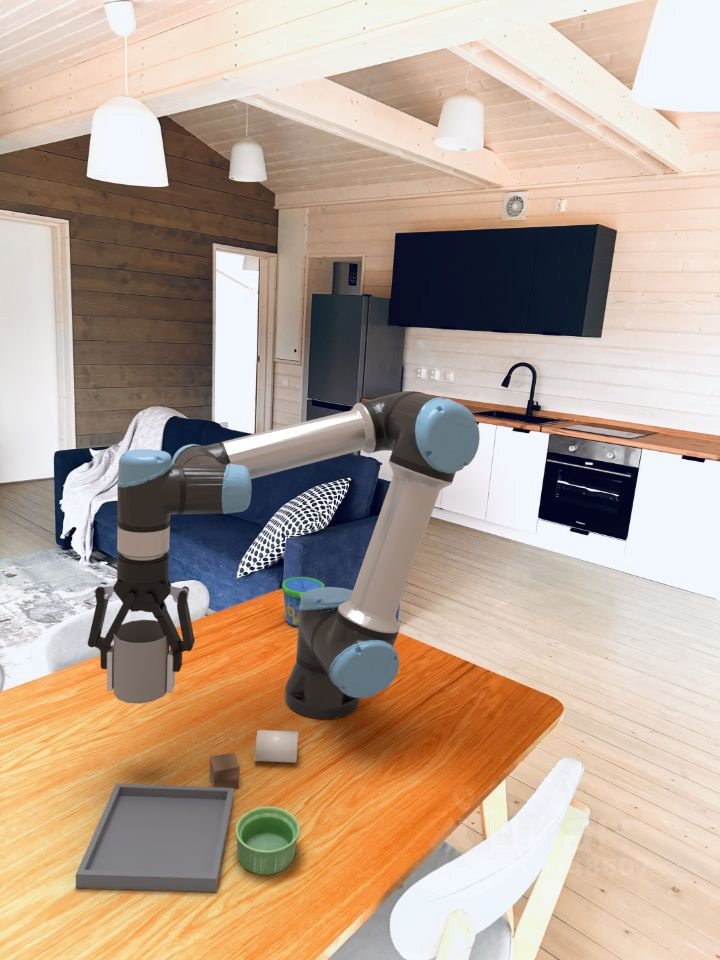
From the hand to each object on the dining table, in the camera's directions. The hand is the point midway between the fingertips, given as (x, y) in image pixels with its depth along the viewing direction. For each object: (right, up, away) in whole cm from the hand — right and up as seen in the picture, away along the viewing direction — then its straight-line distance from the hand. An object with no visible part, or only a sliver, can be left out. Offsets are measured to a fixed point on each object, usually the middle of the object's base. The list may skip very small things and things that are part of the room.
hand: (141, 687), depth 109 cm
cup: (0, 0, 0) cm, 1 cm away
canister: (+20, -13, +12) cm, 27 cm away
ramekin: (+21, -20, -11) cm, 32 cm away
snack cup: (+20, -3, +65) cm, 68 cm away
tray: (+6, -19, -11) cm, 22 cm away
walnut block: (+13, -16, +3) cm, 21 cm away
